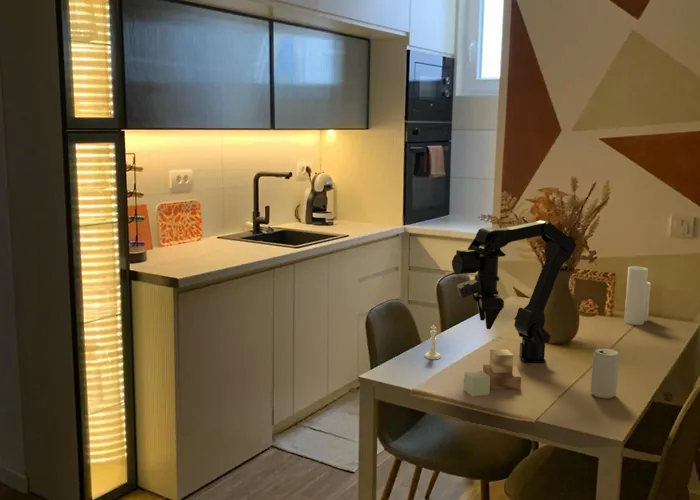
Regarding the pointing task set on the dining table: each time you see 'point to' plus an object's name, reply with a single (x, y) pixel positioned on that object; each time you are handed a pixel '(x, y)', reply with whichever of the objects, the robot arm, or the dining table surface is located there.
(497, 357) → the oak cube
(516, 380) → the pedestal
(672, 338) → the dining table surface
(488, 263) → the robot arm
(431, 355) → the chess piece
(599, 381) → the beverage can
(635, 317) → the vase
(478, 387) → the sage block
